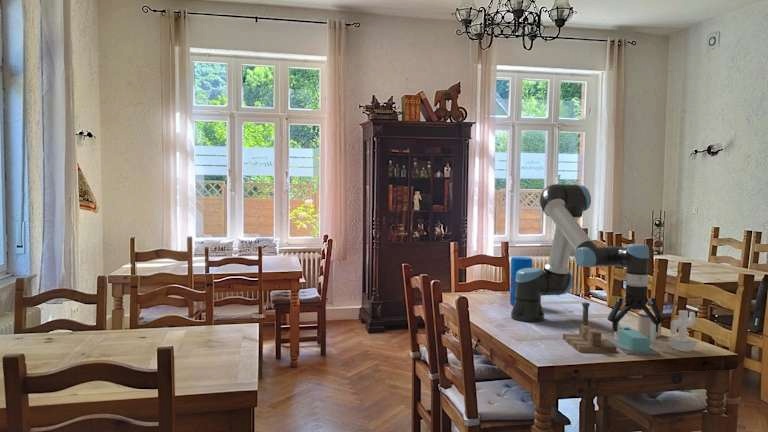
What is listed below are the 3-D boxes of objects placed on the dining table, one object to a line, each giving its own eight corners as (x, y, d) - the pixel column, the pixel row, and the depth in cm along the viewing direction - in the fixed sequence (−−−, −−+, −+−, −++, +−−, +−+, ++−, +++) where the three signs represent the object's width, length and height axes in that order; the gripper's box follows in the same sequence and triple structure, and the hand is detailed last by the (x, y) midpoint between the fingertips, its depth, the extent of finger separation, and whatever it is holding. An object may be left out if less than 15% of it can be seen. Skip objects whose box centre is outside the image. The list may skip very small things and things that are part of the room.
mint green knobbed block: (614, 339, 214) (614, 326, 214) (629, 339, 214) (629, 327, 214) (633, 351, 198) (633, 337, 197) (649, 351, 198) (649, 338, 197)
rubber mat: (604, 339, 216) (604, 337, 216) (634, 339, 216) (634, 338, 216) (627, 354, 196) (627, 352, 196) (659, 354, 196) (659, 353, 196)
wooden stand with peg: (562, 338, 216) (563, 300, 215) (597, 339, 216) (598, 300, 215) (578, 351, 198) (580, 310, 197) (616, 352, 198) (617, 310, 197)
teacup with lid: (666, 337, 220) (667, 309, 220) (645, 337, 219) (646, 309, 219) (648, 329, 232) (649, 303, 232) (628, 330, 231) (629, 303, 231)
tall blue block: (533, 305, 281) (535, 257, 280) (527, 308, 272) (528, 259, 271) (513, 302, 287) (514, 256, 286) (506, 305, 278) (508, 258, 277)
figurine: (664, 347, 205) (665, 308, 205) (685, 346, 207) (687, 308, 206) (677, 353, 198) (679, 313, 198) (699, 352, 200) (701, 312, 199)
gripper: (607, 286, 198) (605, 342, 199) (675, 287, 198) (672, 343, 199) (599, 282, 206) (597, 337, 206) (664, 283, 205) (662, 338, 206)
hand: (634, 340), depth 203 cm, fingers open, 13 cm apart
